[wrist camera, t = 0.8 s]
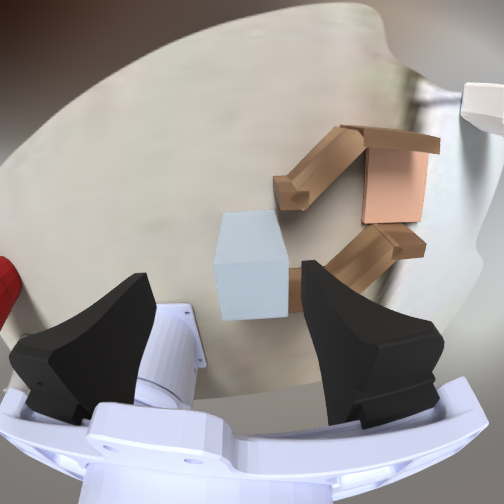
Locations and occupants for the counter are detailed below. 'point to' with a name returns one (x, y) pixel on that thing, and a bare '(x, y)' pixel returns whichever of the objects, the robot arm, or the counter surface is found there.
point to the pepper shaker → (484, 106)
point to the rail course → (375, 234)
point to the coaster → (394, 185)
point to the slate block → (251, 266)
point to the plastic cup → (8, 288)
